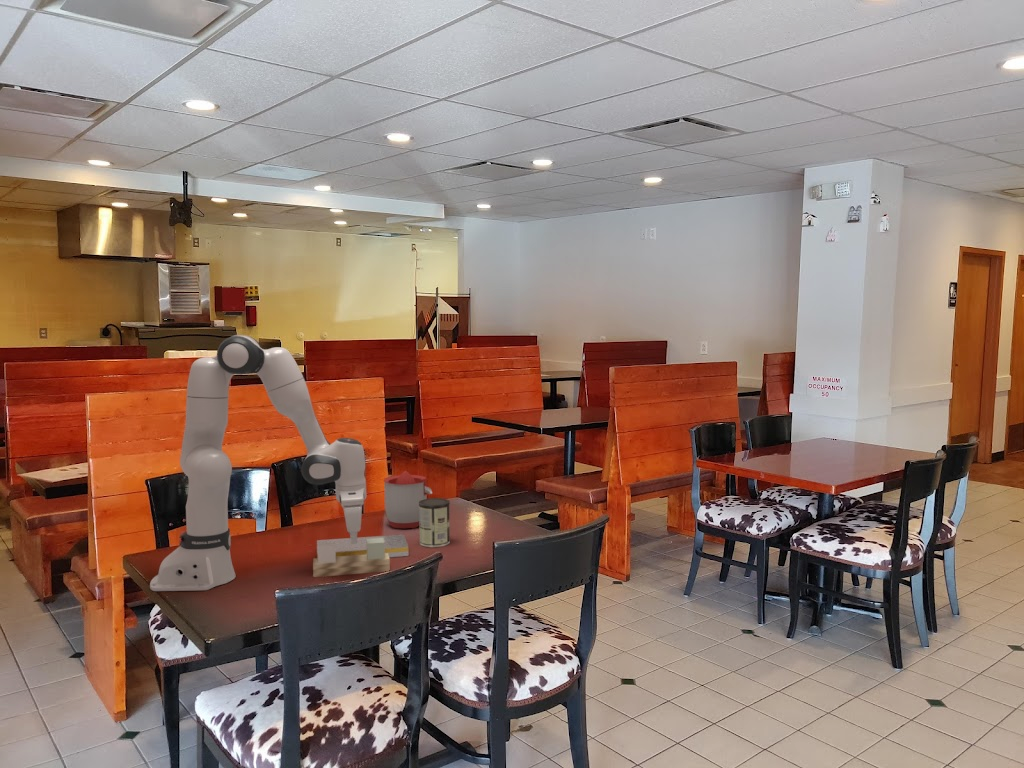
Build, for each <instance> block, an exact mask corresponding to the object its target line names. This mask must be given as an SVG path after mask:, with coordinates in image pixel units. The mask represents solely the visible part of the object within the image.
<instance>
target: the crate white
mask: <svg viewBox="0 0 1024 768" xmlns="http://www.w3.org/2000/svg"><path fill="white" fill-rule="evenodd" d="M323 563H336V550H335V541H327V542H318V564H323Z"/></svg>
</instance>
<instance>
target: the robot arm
mask: <svg viewBox="0 0 1024 768" xmlns="http://www.w3.org/2000/svg"><path fill="white" fill-rule="evenodd" d="M251 374H252V375H253V374H255V375H257V376H258V377H259V378H260V380H261V382H262V384H263V386H264V389H265V391H266V393H267V396H268V398H269V400H270V402H271V404H272V406H273V407H274V409H275V410H276V411H277V413H279V414H280V415H282V416H285V417H286V418H288V419H290V420H291V421H292V422H293V424H294V425H295V426H296V428H297V430H298V433H299V434H300V435H299V436H301V439H302V441H303V443H304V446H305V449H306V454H307V455H306V457H305V459H304V460H303V461H302V463H301V467H300V471H301V476H302V477H303V479H304V480H305V481H306V482H307V483H308V484H311V485H314V486H321V485H326V484H329V483H333V482H334V484H335V501H337V502H338V503H339V504H340V506H341V507H342V509H343V513H344V514H343V515H344V520H345V526H346V531H347V532H348V534H349V536H350V537H349V538H351V544H356V543H357V538H358V532H360V531H361V529H362V527H361V526H362V516H363V515H362V513H363V505H364V504H365V500H366V499H367V498H368V497H367V496H368V495H367V481H366V477H365V472H366V471H365V470H366V459H365V458H366V457H365V452H364V451H365V449H364V447H363V444H362V443H361V442H360V441H359V440H357V439H354V438H350V437H340V438H337V439H336V440H334V442H332V443H330V442H329V441H328V439H327V438H326V436H325V434H324V432H323V429H322V427H321V425H320V422H319V420H318V418H317V416H316V413H315V411H314V407H313V404H312V400H311V396H310V393H309V388H308V386H307V383H306V380H305V377H304V375H303V373H302V371H301V369H300V367H299V365H298V364H297V362H296V360H295V358H294V356H293V355H292V354H291V352H290V351H289V349H287V348H285V347H282V346H281V347H280V346H279V347H277V346H276V347H271V348H268V349H267V348H266V349H264V348H262V346H261V344H260V343H259V342H258V341H257V340H256V339H255V338H253V337H252V336H249V335H246V334H235V335H232V336H230V337H227V338H225V339H224V340H223V341H222V342H220V344H219V346H218V348H217V352H216V355H215V356H204V357H200V358H198V359H196V360H194V362H193V363H192V364H191V366H190V370H189V374H188V381H187V388H186V406H185V407H186V408H185V426H184V432H183V437H182V444H181V451H180V457H179V458H180V459H179V463H180V468H181V471H182V472H183V473H184V475H186V476H187V479H188V491H187V500H186V504H185V521H186V529H185V530H184V529H183V530H181V532H180V533H179V539H178V542H179V546H178V547H177V548H176V549H174V550H173V551H171V553H169V554H168V555H167V556H166V557H165V558H164V559H163V560H162V562H161V563H160V566H159V570H158V574H157V575H155V576H154V577H152V579H151V580H150V583H149V589H150V590H151V591H153V592H178V591H179V592H180V591H209V590H210V589H213V588H214V587H218V586H220V585H224V584H225V585H226V584H227V583H229V582H232V581H233V580H235V578H236V573H235V569H234V566H233V563H232V558H231V557H232V556H231V551H230V550H231V543H232V542H231V541H232V539H231V531H230V530H231V529H230V528H229V514H228V512H229V511H228V510H229V508H228V506H229V505H228V504H229V503H228V501H229V499H228V498H229V493H230V485H231V476H232V472H233V467H232V465H233V464H232V463H231V460H230V457H229V456H228V455H227V453H225V452H224V451H223V443H224V437H225V432H226V429H227V427H228V423H229V420H228V419H229V395H230V394H229V391H230V390H229V389H230V381H231V379H232V377H233V376H235V375H237V376H238V375H251Z"/></svg>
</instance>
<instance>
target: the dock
mask: <svg viewBox="0 0 1024 768" xmlns="http://www.w3.org/2000/svg"><path fill="white" fill-rule="evenodd" d="M372 538H383V539H384V542H385V553H388V555H389V558H398V557H399V558H400V557H409V556H410V555H409V552H410V551H409V544H408V542H407V540H406V537H405V535H404V534H392V535H391V534H390V535H376V536H363V537H362V536H360V537H357V543H356V544H351V538H350V537H348V538H347V537H345V538H332V539H330V538H329V539H320V540H318V539H317V540H316V558H318V542H327V541H335V550H336V557H340V556H354V555H367V543H366V539H372Z"/></svg>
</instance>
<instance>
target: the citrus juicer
mask: <svg viewBox="0 0 1024 768" xmlns="http://www.w3.org/2000/svg"><path fill="white" fill-rule="evenodd" d="M427 478H428V477H426V476H424V475H420V474H410V472H408V471H407V470H404V471H403V472H402V473H401V474H399V475H392V476H387V477H385V478H384V479H383V482H384V484H383V485H384V510H385V515H386V518H387V521H388V524H389V526H391V527H392V528H393V529H416V528H419V501H421V500H424V499H428V497H427V496H428V495H432V494H433V491H432V489H431V487H428V485H427V484H428V481H427V480H428V479H427Z"/></svg>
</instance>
